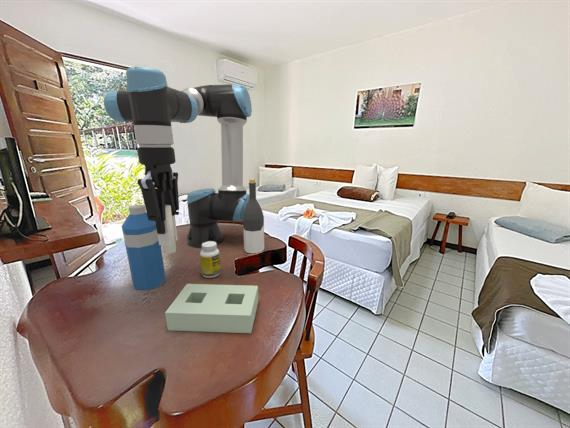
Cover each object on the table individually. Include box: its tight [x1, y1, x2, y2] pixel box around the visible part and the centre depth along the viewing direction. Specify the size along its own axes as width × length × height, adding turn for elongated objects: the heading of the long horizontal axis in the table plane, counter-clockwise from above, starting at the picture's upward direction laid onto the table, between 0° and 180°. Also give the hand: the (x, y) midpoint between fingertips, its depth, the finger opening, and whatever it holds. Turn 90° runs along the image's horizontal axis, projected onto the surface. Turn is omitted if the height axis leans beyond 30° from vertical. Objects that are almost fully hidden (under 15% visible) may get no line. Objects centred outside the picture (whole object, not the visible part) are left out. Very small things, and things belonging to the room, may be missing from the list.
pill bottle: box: [199, 241, 222, 279], centre depth 81 cm, size 6×6×11 cm
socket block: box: [164, 283, 259, 334], centre depth 63 cm, size 12×20×5 cm, turn 88°
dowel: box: [162, 205, 177, 255], centre depth 61 cm, size 3×3×12 cm
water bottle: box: [121, 204, 167, 291], centre depth 74 cm, size 9×9×25 cm
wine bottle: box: [242, 178, 265, 255], centre depth 94 cm, size 8×8×30 cm
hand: (168, 242), depth 62 cm, fingers closed on dowel, 3 cm apart
